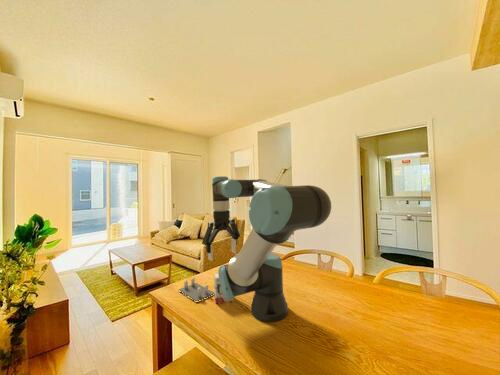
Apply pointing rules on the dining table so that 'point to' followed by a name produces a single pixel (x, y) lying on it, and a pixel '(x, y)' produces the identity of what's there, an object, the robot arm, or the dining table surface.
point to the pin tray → (196, 290)
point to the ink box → (219, 291)
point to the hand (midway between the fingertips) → (222, 256)
